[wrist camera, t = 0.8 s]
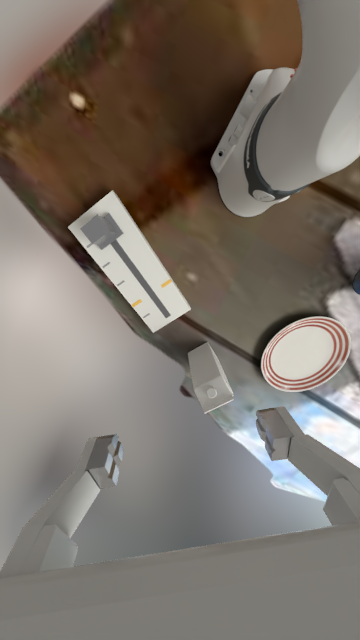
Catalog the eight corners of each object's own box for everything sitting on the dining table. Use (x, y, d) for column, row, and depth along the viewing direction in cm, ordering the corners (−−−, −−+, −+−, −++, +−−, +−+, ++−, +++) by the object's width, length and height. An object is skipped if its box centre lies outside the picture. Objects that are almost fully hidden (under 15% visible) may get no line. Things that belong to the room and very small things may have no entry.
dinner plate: (240, 366, 58) (244, 373, 55) (300, 296, 49) (309, 299, 46) (297, 395, 65) (304, 402, 62) (359, 338, 56) (370, 343, 53)
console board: (74, 228, 39) (67, 227, 37) (116, 194, 37) (112, 190, 35) (154, 327, 50) (153, 332, 47) (189, 305, 48) (191, 309, 45)
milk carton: (217, 357, 56) (240, 409, 38) (198, 368, 57) (211, 422, 39) (207, 341, 53) (226, 388, 36) (187, 352, 54) (196, 403, 37)
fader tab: (87, 231, 37) (72, 228, 31) (109, 213, 36) (98, 207, 30) (102, 249, 38) (90, 250, 33) (123, 233, 37) (115, 231, 32)
